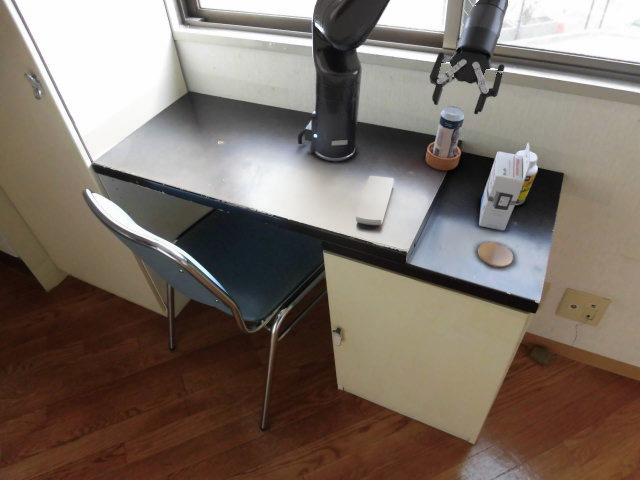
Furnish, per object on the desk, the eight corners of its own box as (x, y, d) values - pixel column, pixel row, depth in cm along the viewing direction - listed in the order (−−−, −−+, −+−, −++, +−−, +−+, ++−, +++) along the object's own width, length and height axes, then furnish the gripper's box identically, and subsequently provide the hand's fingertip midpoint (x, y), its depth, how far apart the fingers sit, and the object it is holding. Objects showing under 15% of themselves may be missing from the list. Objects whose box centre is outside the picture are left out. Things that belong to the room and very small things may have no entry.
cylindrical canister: (452, 167, 103) (465, 117, 95) (430, 164, 104) (441, 114, 96) (452, 155, 107) (465, 106, 98) (431, 152, 107) (442, 103, 99)
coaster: (476, 262, 83) (476, 260, 83) (479, 240, 87) (480, 238, 87) (511, 271, 82) (512, 269, 81) (513, 248, 86) (514, 246, 85)
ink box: (480, 199, 96) (501, 135, 86) (505, 204, 95) (530, 140, 85) (478, 226, 90) (500, 161, 80) (504, 231, 89) (531, 166, 79)
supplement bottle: (504, 208, 94) (521, 165, 87) (491, 191, 98) (506, 149, 91) (530, 204, 95) (548, 162, 88) (515, 188, 99) (532, 146, 92)
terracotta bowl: (422, 166, 104) (424, 155, 102) (428, 150, 109) (430, 138, 107) (455, 173, 102) (458, 162, 100) (459, 156, 107) (463, 145, 105)
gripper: (446, 19, 97) (421, 94, 97) (517, 31, 93) (491, 109, 93) (447, 36, 104) (423, 107, 105) (513, 49, 100) (488, 122, 100)
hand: (455, 108), depth 99 cm, fingers open, 8 cm apart
